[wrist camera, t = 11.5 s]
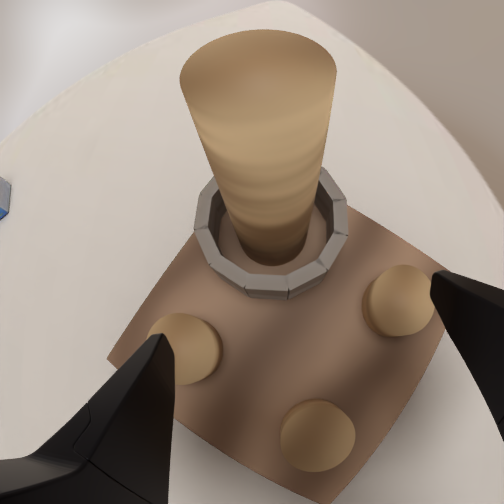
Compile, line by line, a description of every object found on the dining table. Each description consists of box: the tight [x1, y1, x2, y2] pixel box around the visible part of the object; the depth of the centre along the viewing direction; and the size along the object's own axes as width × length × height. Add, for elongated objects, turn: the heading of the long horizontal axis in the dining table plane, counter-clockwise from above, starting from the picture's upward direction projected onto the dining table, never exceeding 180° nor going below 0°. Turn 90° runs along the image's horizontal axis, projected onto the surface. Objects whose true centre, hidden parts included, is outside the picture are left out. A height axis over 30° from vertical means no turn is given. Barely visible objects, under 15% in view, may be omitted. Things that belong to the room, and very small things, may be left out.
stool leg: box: [180, 30, 337, 266], centre depth 13 cm, size 4×4×13 cm
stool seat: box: [107, 167, 450, 504], centre depth 17 cm, size 18×18×4 cm
